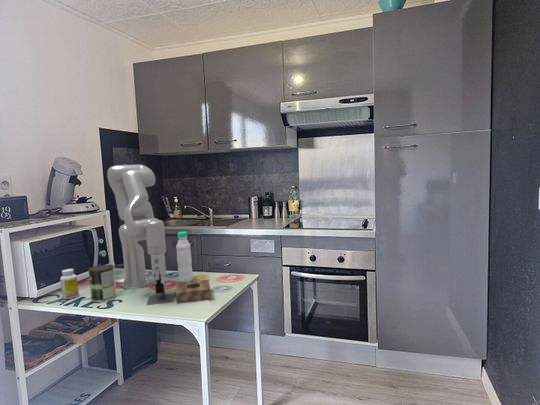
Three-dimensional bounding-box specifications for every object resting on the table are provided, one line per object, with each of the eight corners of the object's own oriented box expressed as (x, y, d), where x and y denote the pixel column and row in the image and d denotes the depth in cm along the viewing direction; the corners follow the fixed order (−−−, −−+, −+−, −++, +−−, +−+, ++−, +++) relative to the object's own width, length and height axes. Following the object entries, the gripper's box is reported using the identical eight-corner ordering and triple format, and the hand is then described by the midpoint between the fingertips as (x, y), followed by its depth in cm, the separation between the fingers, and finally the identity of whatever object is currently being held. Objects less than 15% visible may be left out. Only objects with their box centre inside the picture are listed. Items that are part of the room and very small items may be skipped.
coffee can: (90, 303, 152) (87, 272, 151) (92, 296, 162) (89, 266, 161) (116, 299, 156) (113, 268, 155) (116, 292, 166) (113, 263, 165)
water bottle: (186, 277, 183) (183, 230, 181) (196, 279, 179) (192, 231, 177) (175, 281, 178) (171, 232, 175) (185, 283, 173) (181, 233, 171)
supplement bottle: (82, 295, 165) (79, 268, 164) (70, 300, 158) (67, 272, 157) (71, 294, 167) (68, 267, 166) (59, 299, 161) (55, 271, 160)
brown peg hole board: (177, 304, 146) (176, 293, 145) (178, 293, 159) (177, 282, 159) (211, 300, 148) (210, 288, 148) (209, 289, 162) (208, 279, 162)
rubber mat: (146, 306, 145) (146, 305, 145) (149, 297, 156) (149, 296, 156) (173, 303, 148) (173, 301, 148) (174, 294, 158) (174, 293, 158)
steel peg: (155, 301, 150) (153, 273, 148) (156, 298, 153) (154, 271, 152) (165, 300, 150) (163, 272, 149) (166, 296, 154) (163, 270, 153)
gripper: (164, 252, 142) (168, 296, 144) (167, 244, 159) (170, 283, 160) (144, 254, 141) (148, 298, 143) (149, 246, 157) (153, 286, 159)
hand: (160, 290), depth 152 cm, fingers closed on steel peg, 4 cm apart
